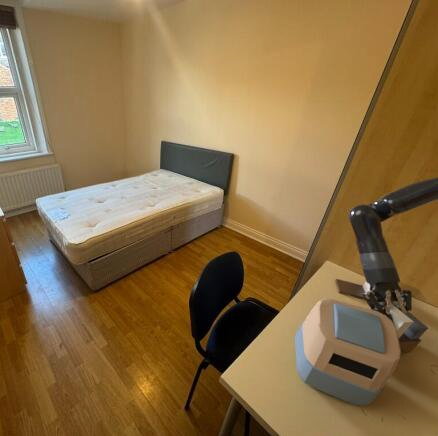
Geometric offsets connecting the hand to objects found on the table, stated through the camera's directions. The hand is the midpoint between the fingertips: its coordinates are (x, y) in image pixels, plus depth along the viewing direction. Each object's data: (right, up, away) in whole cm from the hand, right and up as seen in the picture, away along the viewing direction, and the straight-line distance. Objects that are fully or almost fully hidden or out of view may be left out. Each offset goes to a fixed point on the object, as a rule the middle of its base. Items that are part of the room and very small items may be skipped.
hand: (396, 326), depth 67 cm
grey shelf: (0, -9, +7) cm, 11 cm away
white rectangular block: (0, -3, +4) cm, 5 cm away
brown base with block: (+12, +2, +25) cm, 28 cm away
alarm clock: (-21, -13, 0) cm, 25 cm away
